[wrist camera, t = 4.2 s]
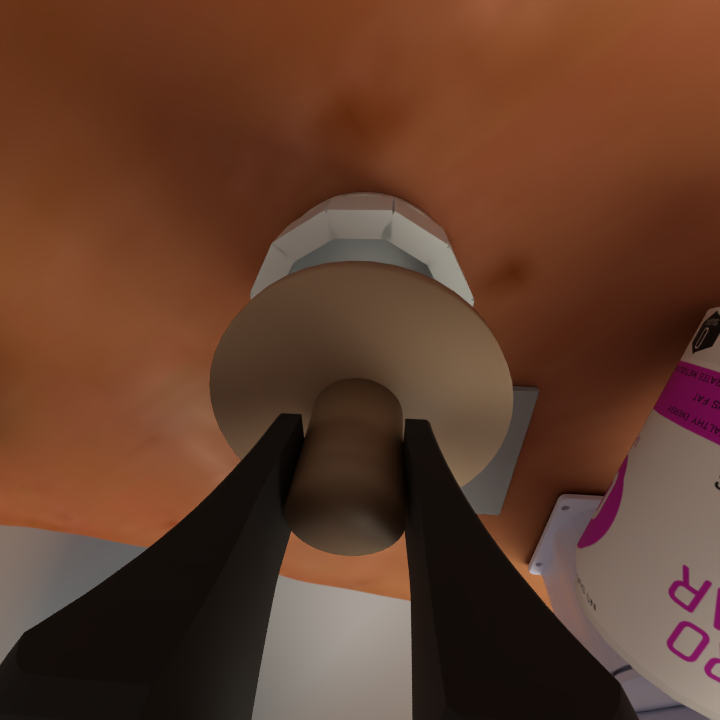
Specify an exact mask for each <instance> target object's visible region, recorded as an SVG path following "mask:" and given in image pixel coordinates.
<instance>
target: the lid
mask: <svg viewBox="0 0 720 720" xmlns="http://www.w3.org/2000/svg"><path fill="white" fill-rule="evenodd" d="M210 396H211V403H212V407H213V411H214V415H215V418H216V420H217V423H218V425H219V428H220V430H221V432H222V433H223V435H224V437H225V439H226V440H227V442H228V444H229V445H230V446H231V448H232V449H233V450H234V452H235V453H236V454H237V456H238V457H239V458H240V459H241V460H242V459H243V458H244V457H245V456H246V455H247V454H248V452H249V451H250V450H251V449H252V448H253V447H254V445H255V444H256V443H257V442H258V441H259V439H260V438H261V437H262V436H263V434H264V433H265V432H266V431H267V429H268V428H269V427H270V425H271V424H272V423H273V422H274V420H275V419H276V418H277V416H278V415H280V414H281V413H291V414H302V422H303V430H304V442H303V445H302V449H301V452H300V455H299V459H298V462H297V466H296V469H295V473H294V476H293V480H292V483H291V487H290V490H289V494H288V497H287V501H286V504H285V510H284V514H285V519H286V522H287V524H288V526H289V528H290V529H291V530H292V532H293V533H294V534H295V535H296V536H297V537H298V538H300V539H301V540H302V541H303V542H305V543H307V544H308V545H310V546H312V547H314V548H316V549H319V550H321V551H324V552H328V553H332V554H337V555H345V556H360V555H368V554H372V553H376V552H379V551H382V550H384V549H386V548H388V547H390V546H391V545H393V544H394V543H395V542H396V541H398V540H399V538H400V537H401V536H402V534H403V532H404V530H405V527H406V497H405V473H404V446H403V441H404V428H405V419H427V420H428V421H429V422H430V424H431V428H432V430H433V433H434V436H435V438H436V441H437V443H438V445H439V448H440V450H441V452H442V454H443V456H444V458H445V460H446V462H447V464H448V466H449V468H450V470H451V472H452V474H453V476H454V477H455V479H456V481H457V483H458V485H459V487H460V488H461V487H462V486H464V485H465V484H467V483H468V482H470V481H471V480H472V479H473V478H474V477H476V476H477V475H478V474H479V473H480V472H481V471H482V470H483V469H484V468H485V467H486V466H487V465H488V463H489V462H490V461H491V460H492V459H493V457H494V456H495V454H496V453H497V451H498V450H499V448H500V447H501V445H502V443H503V440H504V438H505V436H506V434H507V432H508V428H509V424H510V421H511V417H512V409H513V386H512V380H511V376H510V371H509V367H508V364H507V362H506V360H505V357H504V355H503V353H502V351H501V348H500V346H499V344H498V342H497V340H496V338H495V336H494V334H493V333H492V331H491V330H490V328H489V327H488V325H487V324H486V322H485V320H484V319H483V318H482V317H481V316H480V315H479V314H478V312H477V311H476V310H475V309H474V308H473V307H472V306H471V305H470V304H469V303H468V302H467V301H465V300H464V299H463V298H462V297H461V296H460V295H458V294H457V293H456V292H455V291H453V290H451V289H450V288H448V287H447V286H445V285H443V284H442V283H440V282H439V281H437V280H435V279H432V278H430V277H428V276H426V275H424V274H421V273H419V272H417V271H414V270H410V269H407V268H404V267H400V266H397V265H392V264H386V263H380V262H374V261H341V262H331V263H324V264H320V265H316V266H312V267H308V268H304V269H302V270H299V271H297V272H294V273H292V274H289V275H286V276H285V277H283V278H281V279H279V280H278V281H276V282H274V283H272V284H270V285H269V286H267V287H266V288H265V289H264V290H262V291H261V292H260V293H258V294H257V295H256V296H255V297H253V298H252V300H251V301H250V302H249V303H248V304H247V305H246V306H245V307H244V308H243V309H242V310H241V311H240V313H239V314H238V315H237V316H236V317H235V318H234V320H233V321H232V322H231V324H230V325H229V327H228V328H227V330H226V331H225V333H224V334H223V336H222V337H221V340H220V342H219V344H218V346H217V349H216V351H215V354H214V358H213V362H212V366H211V372H210Z"/></svg>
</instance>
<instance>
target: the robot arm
mask: <svg viewBox="0 0 720 720" xmlns="http://www.w3.org/2000/svg"><path fill="white" fill-rule="evenodd" d="M303 442H304V430H303V422H302V414H291V413H281V414H280V415H278V416H277V418H276V419H275V420H274V422H273V423H272V424H271V425H270V427H269V428H268V429H267V431H266V432H265V433H264V434H263V436H262V437H261V438H260V439H259V441H258V442H257V443H256V444H255V445H254V447H253V448H252V449H251V450H250V451H249V452H248V454H247V455H246V456H245V457H244V458H243V459H242V460H241V462H240V463H239V464H238V465H237V466H236V467H235V468H234V470H233V471H232V472H231V473H230V474H229V475H228V476H227V477H226V478H225V479H224V480H223V481H222V482H221V483H220V484H219V485H218V486H217V487H216V488H215V489H214V490H213V492H212V493H211V494H210V495H208V496H207V497H206V498H205V499H204V500H203V501H202V502H201V503H200V504H199V505H198V506H197V507H196V508H195V509H194V510H193V511H192V512H190V513H189V514H188V515H187V516H186V517H185V518H184V519H183V520H182V521H180V522H179V523H178V524H177V525H176V526H175V527H173V528H172V529H171V530H170V531H169V532H167V533H166V534H165V535H164V536H163V537H161V538H160V539H159V540H158V541H157V542H155V543H154V544H153V545H152V546H150V547H149V548H148V549H147V550H145V551H144V552H143V553H141V554H140V555H139V556H138V557H136V558H135V559H133V560H132V561H131V562H129V563H128V564H127V565H125V566H124V567H122V568H121V569H120V570H118V571H117V572H116V573H114V574H113V575H112V576H110V577H109V578H107V579H106V580H105V581H103V582H102V583H100V584H99V585H98V586H96V587H95V588H93V589H92V590H90V591H89V592H87V593H86V594H85V595H83V596H81V597H80V598H78V599H77V600H75V601H74V602H72V603H70V604H69V605H67V606H66V607H64V608H63V609H61V610H59V611H58V612H56V613H55V614H53V615H52V616H50V617H48V618H47V619H45V620H44V621H42V622H41V623H39V624H38V625H36V626H34V627H33V628H31V629H29V630H28V631H26V632H24V634H23V635H22V636H21V638H20V639H19V640H18V642H17V643H16V644H15V645H14V647H13V648H12V649H11V651H10V652H9V653H8V655H7V656H6V657H5V659H4V660H3V662H2V663H1V665H0V720H251V719H252V712H253V706H254V700H255V695H256V689H257V683H258V677H259V671H260V665H261V660H262V654H263V649H264V644H265V638H266V633H267V628H268V622H269V617H270V612H271V607H272V602H273V597H274V592H275V587H276V582H277V578H278V575H279V571H280V567H281V564H282V560H283V557H284V554H285V550H286V547H287V543H288V540H289V537H290V533H291V529H290V528H289V526H288V524H287V522H286V519H285V514H284V510H285V504H286V501H287V497H288V494H289V490H290V487H291V483H292V480H293V476H294V473H295V469H296V466H297V462H298V459H299V455H300V452H301V449H302V445H303ZM403 446H404V473H405V497H406V527H405V538H406V548H407V557H408V567H409V577H410V592H411V635H412V636H411V637H412V711H413V712H412V716H413V720H712V719H709V718H707V717H706V716H704V715H702V714H700V713H698V712H696V711H694V710H692V709H691V708H689V707H687V706H685V705H683V704H681V703H679V702H677V701H676V700H674V699H673V698H671V697H670V696H669V695H667V694H666V693H664V692H663V691H662V690H660V689H659V688H658V687H656V686H655V685H654V684H652V683H651V682H650V681H648V680H647V679H646V678H644V677H643V676H642V675H640V674H639V673H638V672H637V671H636V670H635V669H634V668H632V667H631V666H630V665H629V664H628V663H627V662H626V661H625V660H624V659H623V658H622V657H621V656H620V655H619V654H618V653H617V652H616V651H615V650H614V649H613V648H612V647H611V646H610V645H609V644H608V643H607V642H606V641H605V640H604V638H603V637H602V636H601V635H600V633H599V632H598V631H597V630H596V628H595V627H594V626H593V624H592V623H591V622H590V621H589V619H588V618H587V617H586V615H585V613H584V611H583V609H582V607H581V605H580V603H579V601H578V599H577V597H576V595H575V578H576V577H577V568H576V553H575V547H576V545H577V544H578V542H579V540H580V538H581V536H582V535H583V533H584V531H585V529H586V527H587V526H588V524H589V522H590V520H591V518H592V517H593V515H594V513H595V511H596V510H597V508H598V506H599V504H600V502H601V501H602V499H603V497H604V496H593V495H576V494H564V495H561V496H560V497H559V498H558V500H557V502H556V505H555V507H554V509H553V511H552V514H551V516H550V518H549V520H548V523H547V525H546V527H545V529H544V532H543V534H542V536H541V538H540V541H539V543H538V545H537V547H536V550H535V552H534V554H533V556H532V559H531V561H530V563H529V565H528V570H529V572H530V573H532V574H537V575H542V576H543V579H544V583H545V586H546V589H547V592H548V595H549V599H550V602H551V605H552V608H553V611H554V613H553V612H552V611H551V610H550V609H549V608H548V607H547V606H546V604H545V603H544V602H543V601H542V600H541V598H540V597H539V596H538V595H537V594H536V592H535V591H534V590H533V589H532V588H531V586H530V585H529V584H528V583H527V582H526V581H525V579H524V578H523V577H522V576H521V575H520V573H519V572H518V571H517V570H516V569H515V567H514V566H513V565H512V563H511V562H510V561H509V560H508V558H507V557H506V556H505V554H504V553H503V552H502V550H501V549H500V548H499V546H498V545H497V544H496V542H495V541H494V539H493V538H492V537H491V535H490V534H489V532H488V531H487V530H486V528H485V527H484V525H483V524H482V522H481V521H480V519H479V518H478V516H477V515H476V513H475V511H474V510H473V508H472V507H471V505H470V503H469V502H468V500H467V498H466V497H465V495H464V493H463V492H462V490H461V488H460V487H459V485H458V483H457V481H456V479H455V477H454V476H453V474H452V472H451V470H450V468H449V466H448V464H447V462H446V460H445V458H444V456H443V454H442V452H441V450H440V448H439V445H438V443H437V441H436V438H435V436H434V433H433V430H432V428H431V424H430V422H429V421H428V420H427V419H405V428H404V441H403Z"/></svg>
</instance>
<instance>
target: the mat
mask: <svg viewBox="0 0 720 720" xmlns="http://www.w3.org/2000/svg"><path fill="white" fill-rule="evenodd" d="M538 394H539V390H538V388H537V387H519V386H513V409H512V417H511V421H510V424H509V428H508V432H507V434H506V436H505V438H504V440H503V443H502V445H501V447H500V448H499V450H498V451H497V453H496V454H495V456H494V457H493V459H492V460H491V461H490V462H489V463H488V465H487V466H486V467H485V468H484V469H483V470H482V471H481V472H480V473H479V474H478V475H477V476H476V477H474V478H473V479H472V480H471V481H470V482H468V483H467V484H465V485H464V486H462V487H461V490H462V492H463V493H464V495H465V497H466V498H467V500H468V502H469V503H470V505H471V507H472V508H473V510H474V511H475V513H476V514H489V515H500V512H501V509H502V506H503V503H504V500H505V497H506V493H507V490H508V487H509V484H510V481H511V478H512V475H513V472H514V469H515V466H516V462H517V459H518V456H519V453H520V450H521V447H522V444H523V441H524V438H525V435H526V431H527V428H528V425H529V422H530V419H531V416H532V413H533V410H534V407H535V404H536V400H537V397H538Z"/></svg>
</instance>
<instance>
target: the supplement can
mask: <svg viewBox="0 0 720 720" xmlns="http://www.w3.org/2000/svg"><path fill="white" fill-rule="evenodd" d="M575 553H576V568H577V577H576V578H575V595H576V597H577V599H578V601H579V603H580V605H581V607H582V609H583V611H584V613H585V615H586V617H587V618H588V619H589V621H590V622H591V623H592V624H593V626H594V627H595V628H596V630H597V631H598V632H599V633H600V635H601V636H602V637H603V638H604V640H605V641H606V642H607V643H608V644H609V645H610V646H611V647H612V648H613V649H614V650H615V651H616V652H617V653H618V654H619V655H620V656H621V657H622V658H623V659H624V660H625V661H626V662H627V663H628V664H629V665H630V666H631V667H632V668H634V669H635V670H636V671H637V672H638V673H639V674H640V675H642V676H643V677H644V678H646V679H647V680H648V681H650V682H651V683H652V684H654V685H655V686H656V687H658V688H659V689H660V690H662V691H663V692H664V693H666V694H667V695H669V696H670V697H671V698H673V699H674V700H676V701H677V702H679V703H681V704H683V705H685V706H687V707H689V708H691V709H692V710H694V711H696V712H698V713H700V714H702V715H704V716H706V717H707V718H709V719H712V720H720V307H716V308H712V309H708V311H707V313H706V315H705V316H704V318H703V320H702V322H701V324H700V325H699V327H698V329H697V331H696V332H695V334H694V336H693V338H692V340H691V341H690V343H689V345H688V347H687V349H686V350H685V352H684V354H683V356H682V358H681V359H680V361H679V363H678V365H677V366H676V368H675V370H674V372H673V374H672V375H671V377H670V379H669V381H668V383H667V384H666V386H665V388H664V390H663V392H662V393H661V395H660V397H659V399H658V400H657V402H656V404H655V406H654V408H653V409H652V411H651V413H650V415H649V417H648V418H647V420H646V422H645V424H644V425H643V427H642V429H641V431H640V433H639V434H638V436H637V438H636V440H635V442H634V443H633V445H632V447H631V449H630V451H629V452H628V454H627V456H626V458H625V459H624V461H623V463H622V465H621V467H620V468H619V470H618V472H617V474H616V476H615V477H614V479H613V481H612V483H611V484H610V486H609V488H608V490H607V492H606V493H605V495H604V497H603V499H602V501H601V502H600V504H599V506H598V508H597V510H596V511H595V513H594V515H593V517H592V518H591V520H590V522H589V524H588V526H587V527H586V529H585V531H584V533H583V535H582V536H581V538H580V540H579V542H578V544H577V545H576V547H575Z"/></svg>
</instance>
